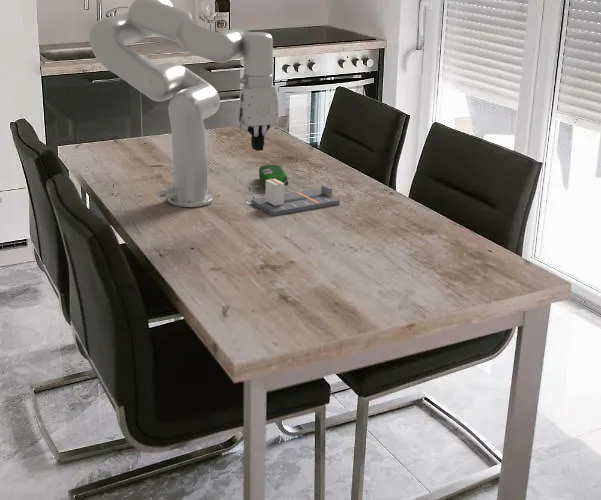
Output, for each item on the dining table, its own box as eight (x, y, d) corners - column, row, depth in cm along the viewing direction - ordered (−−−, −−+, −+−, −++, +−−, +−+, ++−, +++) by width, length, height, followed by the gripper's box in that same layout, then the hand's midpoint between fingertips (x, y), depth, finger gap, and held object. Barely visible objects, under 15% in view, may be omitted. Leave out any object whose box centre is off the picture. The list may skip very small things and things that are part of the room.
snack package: (265, 194, 262) (265, 177, 260) (256, 178, 276) (257, 161, 274) (288, 193, 264) (289, 176, 262) (279, 177, 278) (280, 161, 276)
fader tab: (274, 205, 247) (275, 184, 245) (265, 200, 251) (265, 179, 249) (283, 204, 249) (284, 182, 246) (274, 199, 253) (274, 178, 250)
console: (273, 216, 244) (273, 203, 242) (251, 203, 253) (251, 191, 252) (339, 204, 255) (340, 192, 254) (316, 192, 264) (316, 180, 263)
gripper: (240, 86, 227) (240, 156, 234) (290, 81, 235) (288, 149, 242) (225, 81, 233) (226, 149, 240) (275, 76, 241) (274, 143, 248)
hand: (257, 149), depth 241 cm, fingers closed
